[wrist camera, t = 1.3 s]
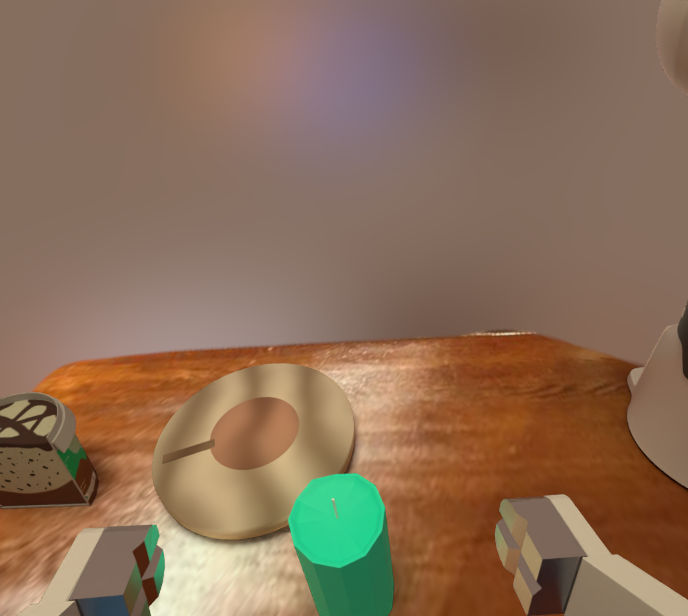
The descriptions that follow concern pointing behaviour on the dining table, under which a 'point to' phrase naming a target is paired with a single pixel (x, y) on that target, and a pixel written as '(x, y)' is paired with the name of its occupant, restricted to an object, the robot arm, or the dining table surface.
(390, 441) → the dining table surface
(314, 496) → the candle
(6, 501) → the food container
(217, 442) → the turntable
